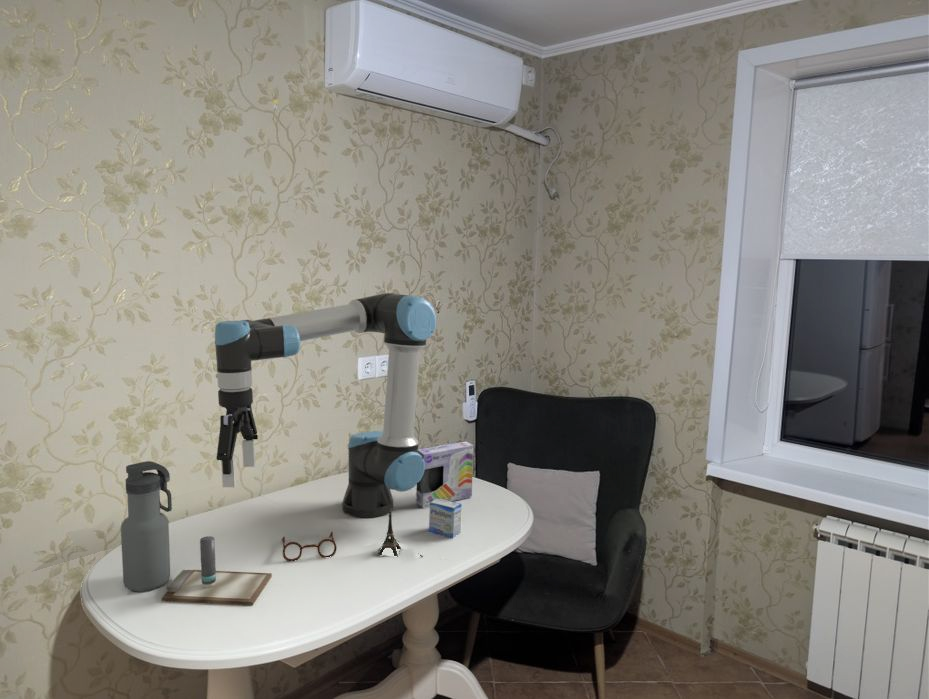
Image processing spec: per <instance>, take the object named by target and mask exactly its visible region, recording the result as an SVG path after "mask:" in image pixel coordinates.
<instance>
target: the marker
mask: <svg viewBox="0 0 929 699" xmlns="http://www.w3.org/2000/svg"><path fill="white" fill-rule="evenodd" d="M215 540H216V539H215V537H214V536H204V537H203V536H202V538H200V539H199V546H200V548H199V550H200V570H201V580H202V583H203V587H205V588H210V587H213V586H214V585H215V581H216V571H217V570H216V568H217V567H216V548H215V547H216V545H215Z"/></svg>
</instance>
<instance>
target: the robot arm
mask: <svg viewBox="0 0 929 699" xmlns="http://www.w3.org/2000/svg"><path fill="white" fill-rule="evenodd" d="M436 314H437V313H436V312H435V309H434V307H433V306H432V305H431V303H430V302H429V301H428V300H426V299H425V298H422V297H419V296H416V295H413V294H412V295H407V294H398V293H392V292H390V293H389V292H388V293H387V292H385V293H380V294H375V295H374V294H373V295H370V296H366V297H362V298H356V299H351V301H349V303H348V304H342V305H336V306H332V307H331V306H330V307H325V308H320V309H314V310H308V311H307V310H306V311H303V312H296V313H291V314H285V315H284V314H283V315H279V316H273V317H268V318H262V319H256V320H252V319H242V320H241V319H240V320H225V321H223V320H222V321H220V322H217V324H216V325H215V328H214V329H215V331H214V346H215V347H214V348H215V357H216V358H215V359H216V374H215V378H216V379H217V387H218V389H219V390H218V391H217V396H218V405H219V406H220V407H221V408H225V409H226V411H225V412H226V413H225V415H220V417H219V418H220V419H219V420H220V422H219V423H220V424H219V425H220V427H219V435H218V443H217V451H216V452H217V453H216V461H221V477H222V488H235V487H237V484H236V483H237V482H236V466H235V465H236V464H235V458H234V452H235V447H236V442H237V437H238V434H239V433H240V434H241V437H242V438H243V440H242V441H241V445H242V463H243V464H242V465H243V466H242V467H246V468H250V467H251V468H255V467H256V454H255V453H256V452H255V451H256V450H255V449H256V448H255V440H258V439H259V435H258V429H257V425H256V421H255V417H254V414H253V410H252V409H253V408H252V404H253V402H254V401H253V400H254V396H253V388H252V387H253V374H252V361H260V360H271V359H279V358H283V359H285V358H288V357H292V356H296V355H297V354H298V352H299V351H300V349H301V342H303V341H308V340H309V341H310V340H313V339H319V338H324V337H328V336H334V335H338V334H345V333H350V332H354V333H357V334H363V333H380V334H383V335H384V336H383V344H384V345H385V346H386V347H387V349H388V358H387V370H386V371H387V373H386V387H385V390H386V391H385V402H384V414H383V416H384V417H383V430H382V431H379V430H378V431H371V430H370V431H364V432H359V433H354V434H352V435H351V436H350V437H349V439H348V444H347V445H348V446H347V447H348V448H347V449H348V484H347V486H346V490H345V493H344V496H343V500H342V511H343V512H344V513H345V514H346V515H348V516H351V517H357V518H376V517H381V516H384V515H385V516H386V515H389V509H390V504H391V508H392V510H391V512H392V511H393V509H394V501H395V500H394V497H393V494H392V492H391V491H392V490H393V491H396V492H400V493H401V492H403V493H404V492H407V491H410V490H412V489H413V488H414V487H415V486H416V487H417V483H418V482H419V481H420V480H421V478H422V476H423V474H424V470H425V462H424V459H423V458H422V456H421V455H420V454H418V450H419V440H418V439H417V438H416V437H415V420H416V408H417V406H416V405H417V395H418V383H419V381H418V380H419V371H420V370H419V369H420V367H419V366H420V356H421V352H422V350H423V349H424V348H425V347H427V340H428V339H429V338H431V337H432V334H433V333H434V332H435V330H436V327H437V316H436Z"/></svg>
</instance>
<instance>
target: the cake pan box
mask: <svg viewBox="0 0 929 699" xmlns="http://www.w3.org/2000/svg"><path fill="white" fill-rule="evenodd" d="M418 454H420V455H421V456H422V458H423V459H424V462H425V470H424V474H423V476H422V478H421V480H420V481H419V482H418V483H417V484H416V489H415V490H416V491H415V492H416V497H415V501H416V505H417V506H419V507H420V508H422V509H427V508H430V503H431V502H432V501H433V500H435V499H437V498H438V499H442V500H447V501H451V502H456V501H459V500H463V499H464V500H465V499H467V498H472V497H473V473H474V472H473V470H474V469H473V468H474V466H473V464H474V444H472V443H471V442H469V441H462V442H456V443H455V442H454V443H448V444H441V445H440V444H439V445H436V446H433V447H432V446H431V447H427V448H418Z"/></svg>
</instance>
